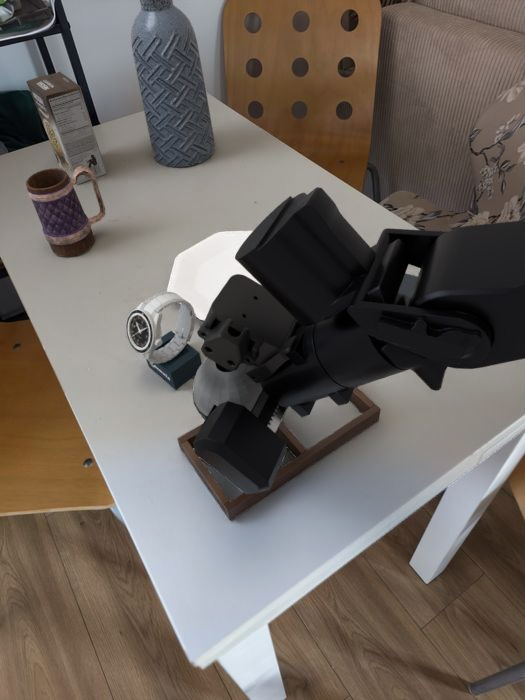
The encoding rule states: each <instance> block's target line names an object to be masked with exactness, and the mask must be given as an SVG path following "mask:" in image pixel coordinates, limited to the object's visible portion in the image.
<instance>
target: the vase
mask: <svg viewBox="0 0 525 700" xmlns="http://www.w3.org/2000/svg"><path fill="white" fill-rule="evenodd" d="M139 4H140V8H141V9H140V11H139V12H138V14H137V15H136V16H135V18H134V20H133V23H132V26H131V34H130V38H131V40H130V41H131V50H132V51H131V52H132V57H133V61H134V66H135V69H136V70H135V71H136V77H137V82H138V87H139V90H140V91H139V92H140V96H141V101H142V107H143V112H144V116H145V122H146V127H147V132H148V137H149V141H150V148H151V150H152V154H153V157H154V158H155V160H156V161H157V162H158V163H159V164H161V165H164V166H167V167H173V168H182V167H183V168H184V167H191V166H193V165H198V164H200V163H203V162H204V161H207V160H208V159H209V158H211V156H212V155H214V152H215V149H216V142H215V135H214V130H213V129H214V128H213V124H212V118H211V117H212V116H211V112H210V106H209V101H208V96H207V90H206V85H205V84H206V83H205V77H204V73H203V66H202V62H201V56H200V51H199V50H200V49H199V44H198V40H197V36H196V33H195V29H194V27H193V24H192V23H191V20H190V18H189V17H188V16H187V15H186V14H185V13H184V12H183V11H182V10H181V9H179V8H178V7H177V6H175V5H174V0H139Z"/></svg>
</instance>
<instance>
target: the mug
mask: <svg viewBox="0 0 525 700" xmlns="http://www.w3.org/2000/svg"><path fill="white" fill-rule="evenodd" d="M80 175H85V176H88V177H89V178H90V179H91V180H90V181H91V183H92V188H93V191H94V194H95V197H96V200H97V203H98V206H99V213H97V214H96V215H94V216H91V217H88V215H87V214H86V213H85V210H84V208H83V206H82V204H81V202H80V199H79V197H78V194H77V192H76V189H75V187H74V185H77V184H76V183H77V179H78V177H79V176H80ZM25 185H26V190H27V193H28V196H29V197H30V199H31V202H32V204H33V207H34V209H35V211H36V214H37V216H38V219H39V222H40V224H41V226H42V227H41V228H42V232H43V235H44V237H45V239H46V241H47V242H48V244H49V246H50V249H51V251H52V252H53V254H55V255H57V256H60V257H64V258H67V257H68V258H71V257H76V256H79V255H82V254H84V253H86V252H87V251H89V250H90V248H92V246H93V245H94V244H95V241H96V237H95V234H94V232H93V229H92V226H93V225H94V224H97V223H99V222H101V220H103V219H104V218H105V216H106V207H105V203H104V200H103V197H102V194H101V191H100V189H99V188H100V187H99V184H98V180H97V177H96V175H95V174H94V173H93V172H92V170H91V169H90V168H89V167H86V166H83V165H82V166H80V167H77V168H76V169H75V170H74V175H73V178H72V179H71V178H70V177H69V176H68V174H67V173H66V171H64V170H62V169H61V168H46V169H42V170H40V171H39V170H38V171H37V172H35V173H33V174H32V175H30V176H29V177H28V178H27V179H26V181H25Z"/></svg>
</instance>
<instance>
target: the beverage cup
mask: <svg viewBox="0 0 525 700" xmlns="http://www.w3.org/2000/svg"><path fill="white" fill-rule="evenodd" d="M248 366H249V365H246V364H244V363H242V364H240V365H239V367H238V368H237V370H228V369H226V368H224V367H222V366H221V365H219V364H217V363H216V362H214V361H212V360H210V359H209V358H207V357H206V358H205V359H204V360H203V362H202V364H201V366H200V367H199V369H198V370H197V373H196V376H194V380H193V383H192V385H193V387H192V388H193V390H192V399H193V405H194V407H195V409H196V410H197V412H198V414H199V415H200V416H201V417H202V419H203V420H204V421H205V419H206V418H207V416H208V414H209V412H210V411H211V409H212V407H213V406H214V404H215V405H216V406H218V405H219V404H221V403H224V402H226V401H230V402H233V403H236V404H239V405H243V406H245V407H246V408H247V409H248V410H249V411H250V412H251V410H252V408H253V406H254V404H255V402H256V400H257V399H258V397H259V395H260V393H261V391H262V389H263V388H262V387H261V384H260V383H255V382H254V381H253V380H252V379H251V378H250V377H249V376H247V375H246V374H245V371H246V370H247V368H248Z"/></svg>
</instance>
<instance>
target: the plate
mask: <svg viewBox="0 0 525 700" xmlns="http://www.w3.org/2000/svg"><path fill="white" fill-rule="evenodd" d="M253 231H254V230H232V231H231V230H228V231H219V232H215V233H213V234H211V235H210V236H208V237H206V238H204V239H202V240H201V241H198V242H197V243H196V244H194V245H192V246H190V247H189V248H187V249H185V250H183V251H182V252H180V253H178V254H177V255H176V257H174V261H173V264H172V269H171V272H170V278H169V280H168V285H167V288H166V292H173V293H176V294H177V295H179V296H180V297H182V298H183V299H185V300H186V301H187V302H189V303H190V304H191V305H192V306H193V309H194V313H195V314H196V318H197V319H198V320H199V321H200V322H202V323H203V322H204V321H205V319H206V316H207V314H208V312H209V309H210V307H211V305H212V303H213V301H214V300H215V298H216V297H217V296H218V294H219V293H220V291H221V290H222V288H223V287H224V285H225V284H226V283H227V281H228V280H229V278H230V277H231V276H233V275H236V274H241V275H244V276H247V277H248V278H250V279H252V280H253V281H255V282H257V283H258V284H260V283H259V282H258V281H257V280H256V279H255V278H254V277H253V276H252V275H251V274H250V273H249V272H248V271H247V270H246V269H245V268H244V267H243V266H242V265H241V264H240V263H239V262H238V261H237V260H236V259H235V255H236V253H237V251H238V250H239V248H240V247H241V245H242V244H243V243H244V241H245V240H246V239H247V238H248V236H249V235H250V234H251V233H252V232H253ZM260 285H261V284H260ZM180 304H181V303H178V305H180Z"/></svg>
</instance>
